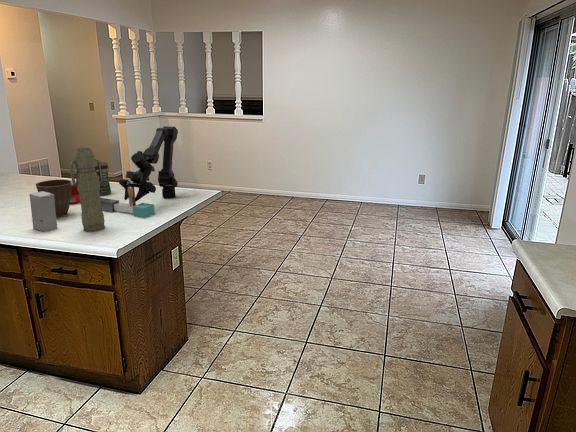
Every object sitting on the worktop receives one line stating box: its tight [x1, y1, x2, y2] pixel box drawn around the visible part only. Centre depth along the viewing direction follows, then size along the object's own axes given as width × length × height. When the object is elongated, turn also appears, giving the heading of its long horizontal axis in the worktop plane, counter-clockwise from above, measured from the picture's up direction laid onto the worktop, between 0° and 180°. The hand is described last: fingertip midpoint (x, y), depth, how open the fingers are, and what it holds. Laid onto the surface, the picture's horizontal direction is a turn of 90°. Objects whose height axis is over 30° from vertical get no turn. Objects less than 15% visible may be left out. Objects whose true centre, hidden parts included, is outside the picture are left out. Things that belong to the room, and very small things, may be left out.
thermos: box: [69, 147, 106, 233], centre depth 180 cm, size 9×12×35 cm
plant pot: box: [35, 179, 72, 218], centre depth 201 cm, size 15×15×16 cm
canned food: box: [69, 180, 81, 206], centre depth 223 cm, size 8×8×11 cm
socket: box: [132, 202, 156, 219], centre depth 203 cm, size 7×7×5 cm
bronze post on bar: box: [112, 186, 137, 214], centre depth 206 cm, size 22×3×13 cm, turn 67°
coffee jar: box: [95, 161, 112, 197], centre depth 239 cm, size 10×8×19 cm
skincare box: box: [29, 191, 58, 232], centre depth 182 cm, size 8×7×16 cm
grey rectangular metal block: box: [100, 197, 120, 213], centre depth 212 cm, size 14×5×5 cm, turn 67°
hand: (130, 200), depth 203 cm, fingers open, 6 cm apart
